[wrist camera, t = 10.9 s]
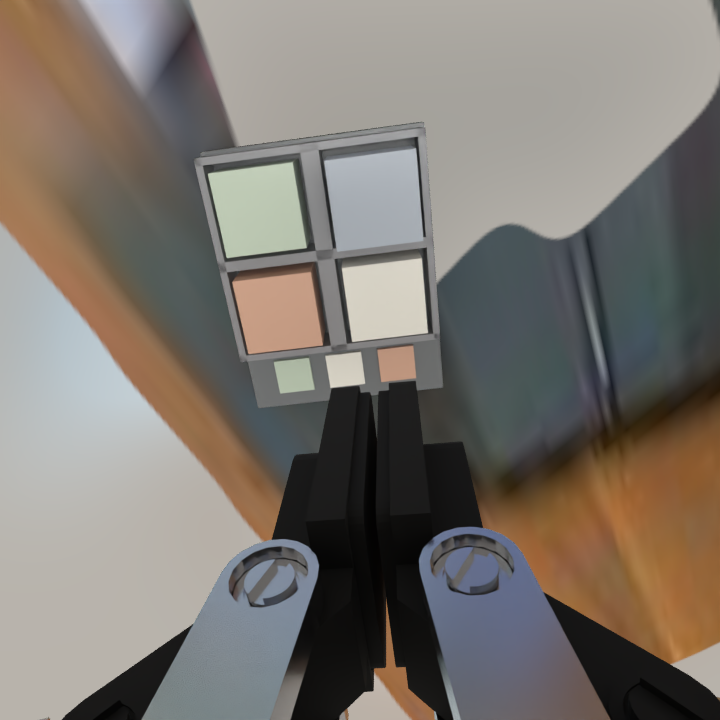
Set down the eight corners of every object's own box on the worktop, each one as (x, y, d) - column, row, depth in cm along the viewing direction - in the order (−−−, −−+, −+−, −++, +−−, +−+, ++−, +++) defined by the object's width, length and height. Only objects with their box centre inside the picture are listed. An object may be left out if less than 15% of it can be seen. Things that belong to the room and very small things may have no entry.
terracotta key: (314, 259, 35) (310, 272, 32) (325, 327, 36) (323, 345, 34) (242, 268, 35) (232, 281, 32) (256, 336, 37) (248, 354, 34)
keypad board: (421, 121, 33) (428, 122, 29) (440, 378, 40) (447, 403, 36) (206, 151, 33) (189, 155, 30) (261, 398, 40) (252, 425, 37)
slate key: (411, 145, 30) (416, 148, 27) (418, 229, 32) (423, 241, 29) (327, 156, 30) (324, 160, 28) (338, 239, 32) (337, 251, 29)
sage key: (298, 158, 32) (292, 162, 29) (310, 237, 34) (306, 248, 31) (220, 168, 32) (207, 173, 30) (237, 246, 34) (226, 258, 32)
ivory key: (416, 246, 34) (421, 258, 32) (422, 316, 36) (427, 333, 33) (343, 255, 35) (341, 268, 32) (352, 324, 36) (352, 341, 34)
